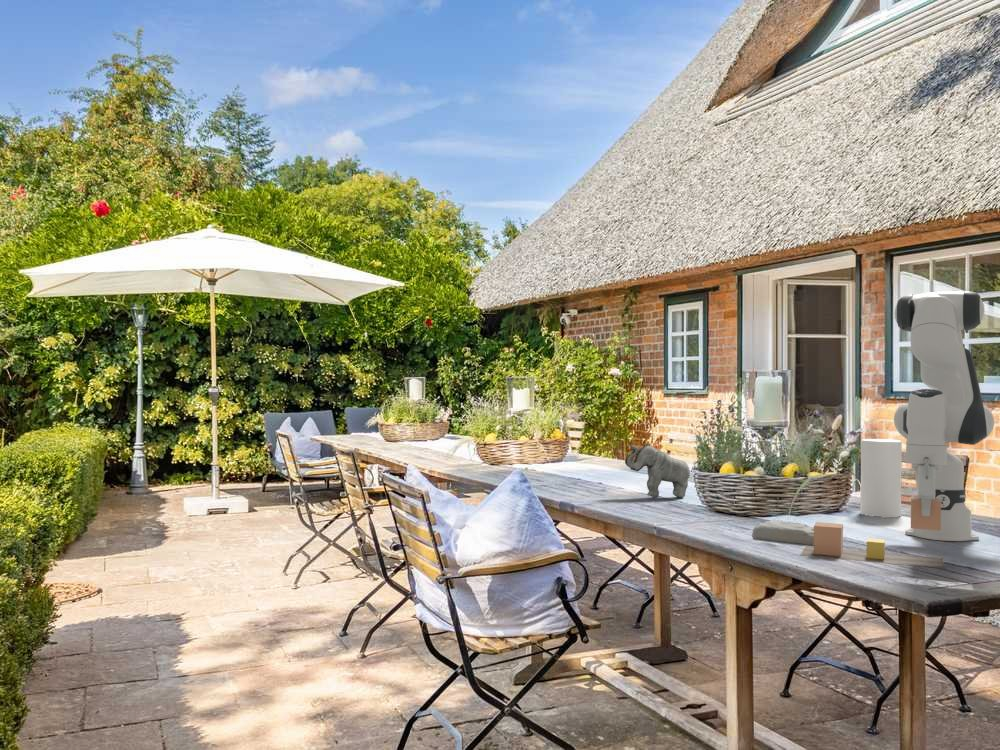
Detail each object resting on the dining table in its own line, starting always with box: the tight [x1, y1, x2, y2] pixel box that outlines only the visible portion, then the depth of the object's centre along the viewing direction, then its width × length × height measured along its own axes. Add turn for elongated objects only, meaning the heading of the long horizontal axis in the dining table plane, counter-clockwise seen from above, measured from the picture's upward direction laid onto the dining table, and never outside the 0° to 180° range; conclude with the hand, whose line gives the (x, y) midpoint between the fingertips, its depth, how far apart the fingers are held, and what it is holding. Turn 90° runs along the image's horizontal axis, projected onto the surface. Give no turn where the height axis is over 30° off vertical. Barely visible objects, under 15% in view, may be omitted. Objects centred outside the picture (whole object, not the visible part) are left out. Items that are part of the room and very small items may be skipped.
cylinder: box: [859, 438, 903, 518], centre depth 288 cm, size 12×12×25 cm
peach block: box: [813, 521, 844, 556], centre depth 217 cm, size 6×6×7 cm
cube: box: [866, 538, 886, 559], centre depth 212 cm, size 4×4×4 cm
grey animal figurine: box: [624, 444, 691, 499], centre depth 322 cm, size 25×9×20 cm, turn 100°
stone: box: [751, 519, 814, 546], centre depth 237 cm, size 21×15×5 cm
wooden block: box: [910, 495, 941, 531], centre depth 207 cm, size 6×6×7 cm
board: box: [800, 545, 945, 570], centre depth 212 cm, size 13×32×1 cm, turn 65°
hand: (925, 513), depth 207 cm, fingers closed on wooden block, 6 cm apart
